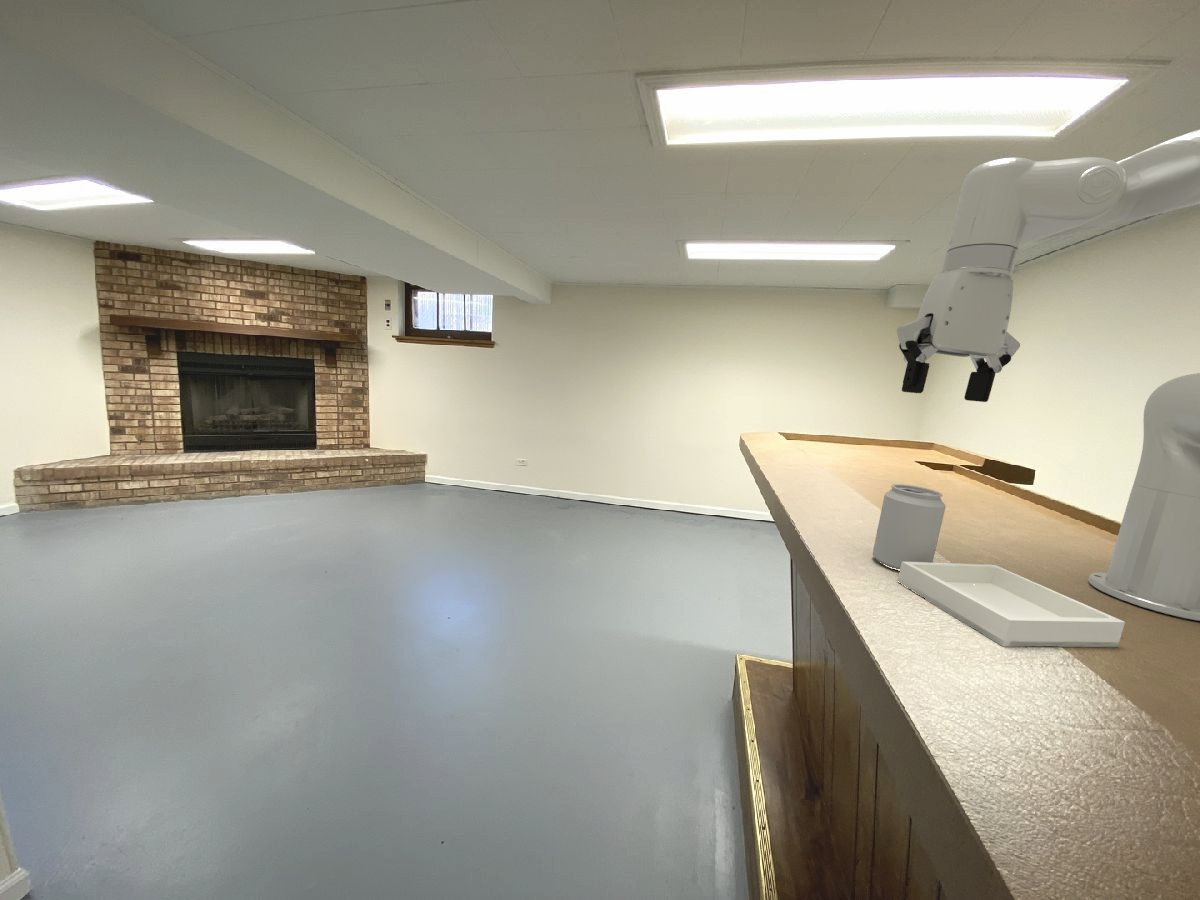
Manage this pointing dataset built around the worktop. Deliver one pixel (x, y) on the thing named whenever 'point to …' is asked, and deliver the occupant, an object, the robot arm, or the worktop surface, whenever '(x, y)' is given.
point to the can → (908, 525)
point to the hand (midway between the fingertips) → (943, 396)
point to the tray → (1010, 606)
